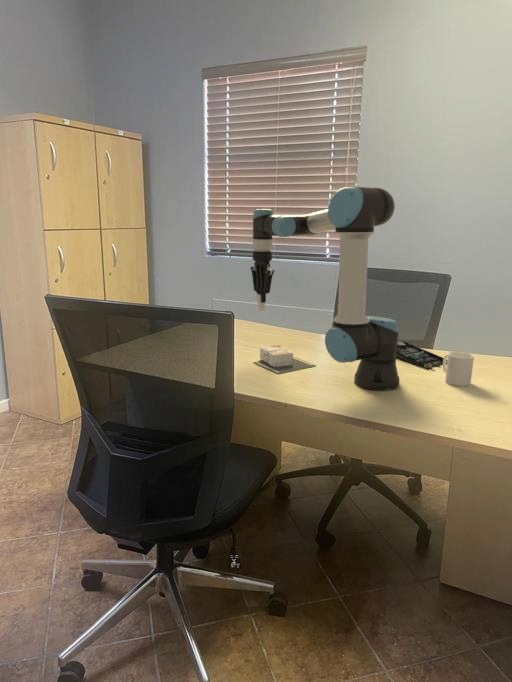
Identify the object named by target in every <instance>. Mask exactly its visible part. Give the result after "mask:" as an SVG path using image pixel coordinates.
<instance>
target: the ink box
mask: <svg viewBox="0 0 512 682" xmlns="http://www.w3.org/2000/svg"><path fill="white" fill-rule="evenodd" d="M293 357H294V353H293V352H292V351H290V350H288V349H286V348H285V347H283V346H281V345H280V344H277V345H271V346H270V345H269V346H261V347H260V349H259V359H261V361H265V362H266V363H268V364H270V365H271V366H273V367H280V366H288V365H292V364H293Z"/></svg>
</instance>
